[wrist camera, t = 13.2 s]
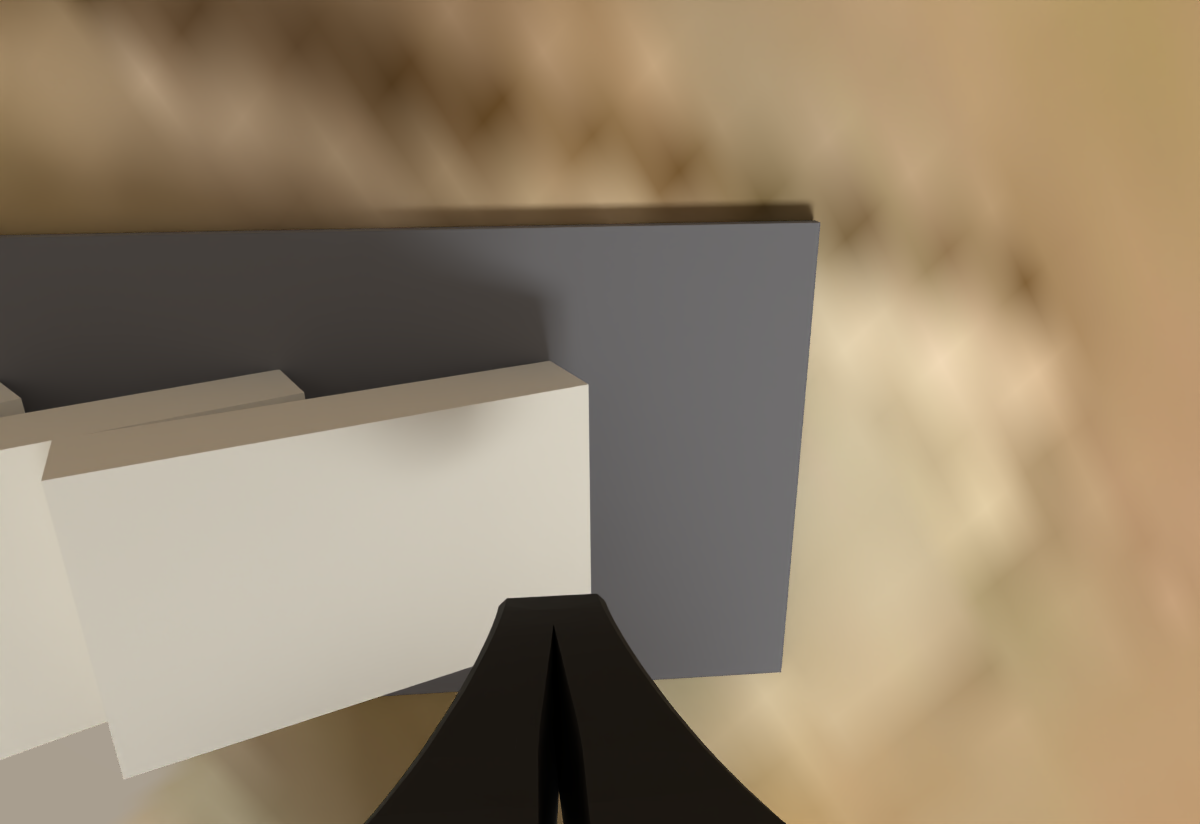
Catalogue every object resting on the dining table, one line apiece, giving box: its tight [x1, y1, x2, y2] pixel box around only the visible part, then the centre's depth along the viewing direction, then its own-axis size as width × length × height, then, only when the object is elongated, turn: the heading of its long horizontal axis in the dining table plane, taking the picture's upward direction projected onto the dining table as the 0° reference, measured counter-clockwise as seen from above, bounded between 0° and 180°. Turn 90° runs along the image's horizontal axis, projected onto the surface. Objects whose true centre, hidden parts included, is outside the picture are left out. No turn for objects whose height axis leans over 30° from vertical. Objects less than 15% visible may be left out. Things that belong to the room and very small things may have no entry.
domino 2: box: [41, 361, 591, 780], centre depth 14 cm, size 2×5×8 cm
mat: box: [0, 220, 820, 696], centre depth 16 cm, size 28×10×1 cm, turn 90°
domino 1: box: [0, 370, 305, 760], centre depth 13 cm, size 2×5×8 cm
